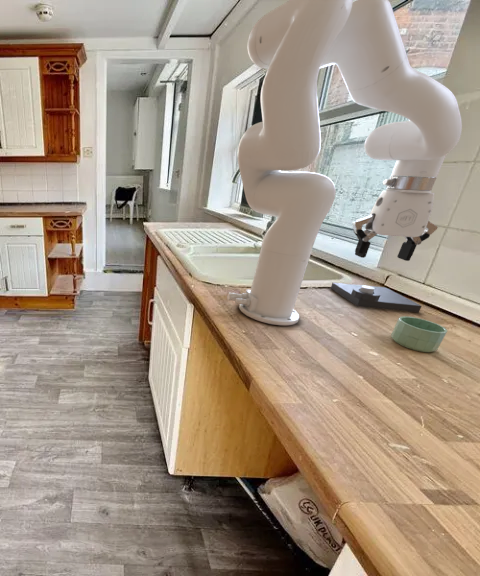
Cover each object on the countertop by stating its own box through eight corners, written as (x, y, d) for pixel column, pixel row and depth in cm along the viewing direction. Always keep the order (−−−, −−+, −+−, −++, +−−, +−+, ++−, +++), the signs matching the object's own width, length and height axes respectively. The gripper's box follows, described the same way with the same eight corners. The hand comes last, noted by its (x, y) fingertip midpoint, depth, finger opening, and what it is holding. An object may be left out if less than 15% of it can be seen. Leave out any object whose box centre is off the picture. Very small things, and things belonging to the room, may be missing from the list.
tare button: (363, 294, 79) (365, 288, 78) (357, 290, 81) (359, 284, 80) (374, 295, 78) (377, 289, 78) (368, 291, 81) (370, 285, 80)
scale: (356, 306, 79) (361, 294, 77) (329, 288, 91) (333, 277, 90) (419, 313, 77) (425, 300, 75) (383, 293, 89) (387, 282, 87)
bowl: (406, 351, 59) (416, 330, 58) (382, 333, 66) (390, 314, 64) (446, 355, 58) (458, 334, 57) (418, 337, 65) (427, 318, 63)
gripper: (377, 184, 68) (351, 259, 74) (469, 188, 65) (433, 265, 71) (357, 183, 74) (334, 251, 81) (439, 186, 72) (409, 256, 78)
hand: (381, 257), depth 76 cm, fingers open, 9 cm apart
